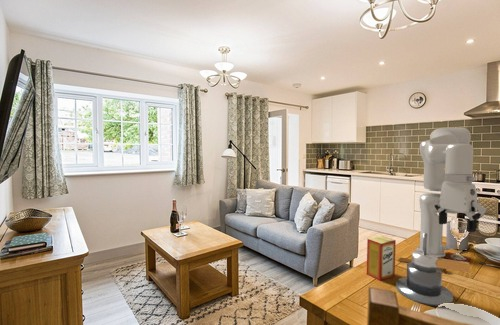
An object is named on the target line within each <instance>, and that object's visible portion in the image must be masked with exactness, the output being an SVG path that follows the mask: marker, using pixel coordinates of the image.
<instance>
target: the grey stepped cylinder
mask: <svg viewBox="0 0 500 325" xmlns="http://www.w3.org/2000/svg"><path fill="white" fill-rule="evenodd" d="M442 275H443V272H442V271H441V270H440V269H439V268H437V271H436V272H425V271H421V270H418V269H416V268H414V267H413V266H412V262H409V263H406V277H404V276H403V277H400V278H399V279H397V280H396V282H395V288H396V290H397V291H398V293H400V294H401V295H402V296H404V297H405V298H406V299H408V300H411V301H413V302H416V303H418V304H422V305H426V306H430V307H439V306H438V305H440V304H443V303H452V304H454V303H453V302H454V294H453V293H452V292H451V291H450V290H449V289H448V288H446V287H445V286H444V285H442V278H443V276H442Z"/></svg>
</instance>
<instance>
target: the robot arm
mask: <svg viewBox="0 0 500 325" xmlns="http://www.w3.org/2000/svg"><path fill="white" fill-rule="evenodd" d="M471 135H472V134H471V132H470V130H469V129H468V128H466V127H460V126H459V127H440V128H436V129H434V130H432V132H431V133H430V135H429V139H428V140H423V141H421V143H420V144H419V154H420V156H421V159H422V161H423V187H424V189H425V190H426V191H430V192H431V193H429V192H428V193H423V194H421V195H420V197H419V208H420V209H419V210H420V231H419V232H420V235H419V240H420V241H419V246H417V247H416V250H422V251H423V233H427V250H426V251H427V252H431V253H433V254H435V255H437V258H444V257H446V252H445V251H450V250H451V248H450V247H449V246H446V245H443V228H444V227H443V226H444V225H447V222H448V214H451V215H453V214H459V213H460V214H465V215H466V217H467V218H468V219H467V220H466V224H467V231H468V232H469V233H472V232H476V231H477V226H478V225H477V223H478V220H480V219H481V218H482V217H484V214H485V213H486V212H487V208H486V207H484V206H482V205H481V204H480V203H478V194H477V193H478V192H477V188H476V184H475V183H473V182H475V181H476V180H477V178H476V176H473V171H474V169H473V163H474V161H473V160H474V146H473V145H472V144H470V142H471V138H472V136H471ZM433 192H435V193H433ZM436 192H440V193H436Z"/></svg>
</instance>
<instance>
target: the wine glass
mask: <svg viewBox="0 0 500 325" xmlns="http://www.w3.org/2000/svg"><path fill="white" fill-rule="evenodd" d="M451 221H452V220H449V221H448V220H447V224H446V240H445V246H449V247H450V250H451V249H452V250H457V240H456V238H454V236H453V235H452V233H451V230H450V222H451ZM469 234H470V233H469ZM469 234H468V236H467V237H466V238H465V239H463V240H462V241H461V242H460V245H459V250H457V251H461V250H465V249H468V250H469Z"/></svg>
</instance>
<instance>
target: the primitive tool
mask: <svg viewBox="0 0 500 325" xmlns="http://www.w3.org/2000/svg"><path fill="white" fill-rule="evenodd" d="M396 262H400V263H404V264H408V263H409V262H412V258H411V259H409V258H406V257H402V256H401V257H399V258H398V259H397V261H396ZM439 269H440V270H441V271H442V274H445V273H447V269H443V268H439Z"/></svg>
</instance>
